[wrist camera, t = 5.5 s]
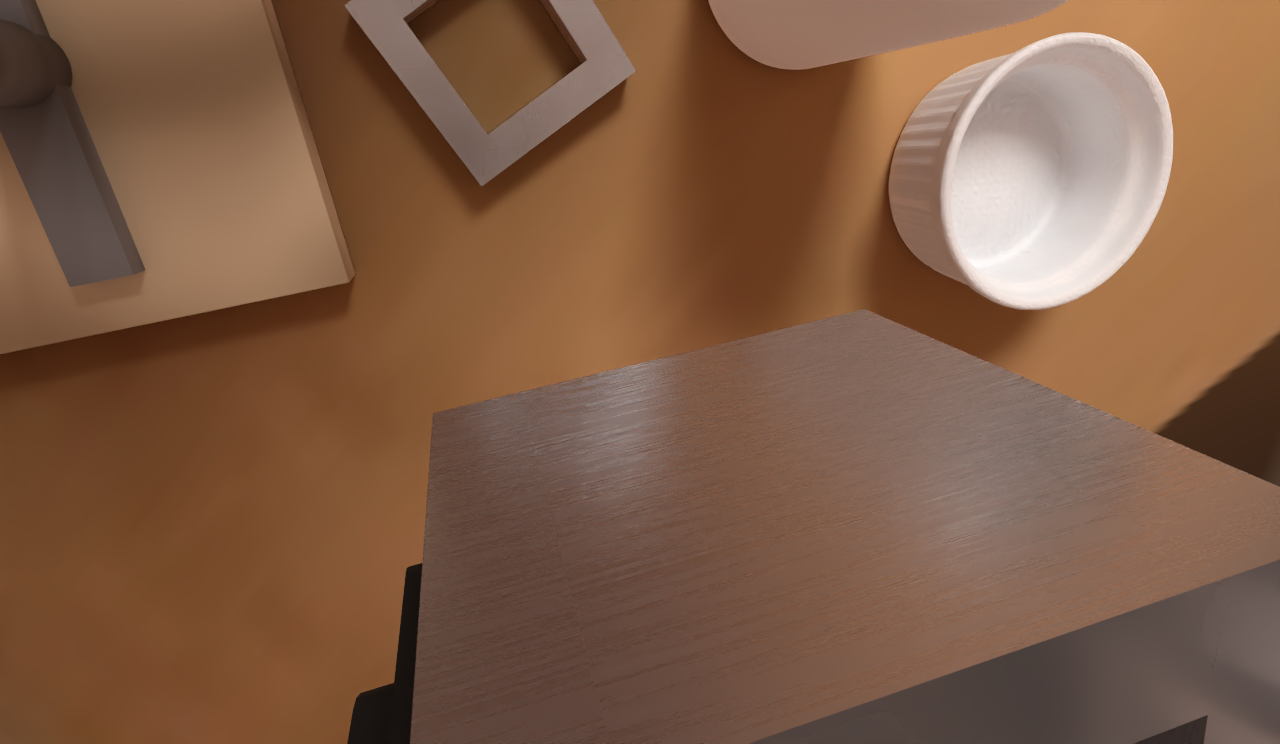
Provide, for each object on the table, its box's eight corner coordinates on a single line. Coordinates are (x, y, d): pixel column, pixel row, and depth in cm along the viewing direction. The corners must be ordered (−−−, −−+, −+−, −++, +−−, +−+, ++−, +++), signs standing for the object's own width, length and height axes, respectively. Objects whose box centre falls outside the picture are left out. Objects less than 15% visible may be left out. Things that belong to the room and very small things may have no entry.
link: (432, 413, 9) (401, 863, 3) (864, 308, 10) (1373, 526, 4) (534, 762, 11) (616, 1390, 6) (882, 646, 12) (1243, 1078, 7)
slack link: (350, 12, 21) (344, 5, 20) (513, -109, 21) (516, -123, 20) (480, 184, 23) (481, 186, 22) (627, 74, 23) (636, 70, 22)
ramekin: (924, 330, 29) (999, 359, 25) (833, 136, 26) (902, 135, 22) (1099, 206, 29) (1200, 216, 25) (1031, -1, 26) (1135, -27, 22)
